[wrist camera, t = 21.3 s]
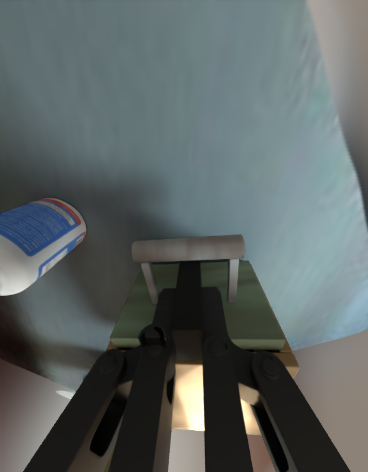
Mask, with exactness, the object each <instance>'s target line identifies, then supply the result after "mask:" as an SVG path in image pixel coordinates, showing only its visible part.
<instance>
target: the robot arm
mask: <svg viewBox="0 0 368 472" xmlns="http://www.w3.org/2000/svg"><path fill="white" fill-rule="evenodd" d="M138 340H139V342H140V344H141V345H139V346H138V347H135V348H133V349H130V350H127V351H124V352H122V351H121V350H119V349H114V348H113V349H110V350H108V351H106V352H105V353H103V354H102V355H101V356H100V358H99V359H98V360H97V361H96V363H95V364H94V366H93V367H92V369H91V370H90V372H89V373H88V375H87V376H86V378H85V379H84V381H83V382H82V384H81V385H80V387H79V388H78V390H77V391H76V393H75V394H74V396H73V397H72V399H71V401H70V402H69V404H68V405H67V406H66V408H65V409H64V411H63V412H62V414H61V415H60V417H59V418H58V420H57V421H56V423H55V424H54V426H53V427H52V429H51V430H50V432H49V434H48V435H47V436H46V438H45V439H44V441H43V442H42V444H41V445H40V447H39V449H38V450H37V451H36V453H35V454H34V456H33V457H32V459H31V461H30V462H29V464H28V465H27V467H26V468H25V470H24V471H23V472H103V471H104V469H105V467H106V464H107V462H108V460H109V457H110V455H111V452H112V450H113V448H114V445H115V448H114V451H113V455H112V459H111V462H110V466H109V470H108V472H168V464H169V452H170V441H171V429H172V417H173V406H174V394H175V383H176V367H175V364H176V357H177V360H202V364H203V401H204V437H205V472H253V467H252V462H251V456H250V450H249V444H248V439H247V433H246V427H245V421H244V416H243V410H242V404H241V400H243V401H245V402H247V403H249V404H250V406H251V409H252V412H253V414H254V417H255V419H256V422H257V425H258V427H259V430H260V432H261V435H262V438H263V440H264V443H265V445H266V448H267V451H268V453H269V456H270V458H271V461H272V464H273V466H274V469H275V471H276V472H350V470H349V468H348V467H347V465H346V464H345V462H344V460H343V459H342V457H341V455H340V454H339V452H338V451H337V449H336V448H335V446H334V444H333V443H332V441H331V439H330V438H329V436H328V434H327V433H326V431H325V430H324V428H323V427H322V425H321V423H320V422H319V420H318V418H317V417H316V415H315V414H314V412H313V410H312V409H311V407H310V405H309V404H308V402H307V401H306V399H305V397H304V396H303V394H302V393H301V391H300V389H299V388H298V386H297V385H296V383H295V381H294V380H293V378H292V376H291V375H290V373H289V372H288V370H287V368H286V367H285V365H284V364H283V363H282V361H281V360H280V359H279V358H278V357H277V356H275V355H274V354H273V353H270V352H268V351H258V352H256V353H252V352H249V351H246V350H244V349H242V348H240V347H238V346H236V345H235V344H234V343H233V342H232V341H231V339H230V337H229V336H228V332H227V327H226V321H225V315H224V309H223V303H222V297H221V292H220V291H219V290H218V288H217V287H202V278H201V262H200V260H193V261H180V263H179V270H178V277H177V284H176V288H164V289H163V290H162V292H161V293H160V294H159V298H158V303H157V306H156V310H155V314H154V318H153V322H152V324H149V325H148V326H146V327H144V328H143V329H142V331H141V332H140V333H139V335H138ZM115 443H116V444H115Z"/></svg>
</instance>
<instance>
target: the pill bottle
mask: <svg viewBox="0 0 368 472" xmlns="http://www.w3.org/2000/svg"><path fill="white" fill-rule="evenodd" d="M85 235H86V225H85V222H84V220H83V218H82V216H81V215H80V213H79V212H78V211H77V210H76V209H75V208H73V207H72V206H71V205H69V204H68V203H66V202H64V201H62V200H59V199H55V198H44V199H40V200H37V201H34V202H31V203H28V204H25V205H22V206H20V207H17V208H14V209H11V210H8V211H5V212H3V213H0V295H12V294H16V293H19V292H21V291H23V290H25V289H26V288H28V287H29V286H30V285H31V284H33V283H34V282H35V281H36V280H37V279H39V278H40V277H41V276H42V275H43V274H45V273H46V272H47V271H48V270H49V269H50V268H52V267H53V266H54V265H55V264H56V263H57V262H59V261H60V260H61V259H62V258H63V257H64V256H66V255H67V254H68V253H69V252H70V251H72V250H73V249H74V248H75V247H76V246H77V245H78V244H80V243H81V242H82V240H83V239H84V237H85Z"/></svg>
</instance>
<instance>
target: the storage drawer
mask: <svg viewBox="0 0 368 472" xmlns="http://www.w3.org/2000/svg"><path fill="white" fill-rule="evenodd" d="M131 253H132V259H133V261H134V262H135V263H141V267H142V268H141V270H140V272H139V274H138V277H137V279H136V281H135V283H134V286H133V288H132V290H131V292H130V294H129V297H128V299H127V301H126V303H125V305H124V308H123V310H122V312H121V314H120V317H119V319H118V321H117V323H116V325H115V328H114V330H113V332H112V334H111V336H110V340H111V341H112V343H113V345H114V347H118V348H132V349H133V348H135V347H138V346H139V345H141V344H140V342H139V340H138V335H139V333H140V332H141V331H142V329H143V328H144V327H146V326H148V325H149V324H152V322H153V318H154V314H155V310H156V306H157V303H158V298H159V294H160V293H161V292H162V290H163V289H164V288H176V284H177V277H178V270H179V264H159V265H152V263H151V262H171V261H193V260H215V259H228V262H205V263H201V278H202V287H217V288H218V290H219V291H220V292H221V297H222V303H223V309H224V315H225V321H226V327H227V332H228V336H229V337H230V339H231V341H232V342H233V343H234V344H235V345H236V346H238V347H240V348H242V349H244V350H246V351H249V352H258V351H264V350H282V349H283V346H284V343H285V340H286V339H285V337H284V335H283V333H282V331H281V329H280V327H279V324H278V322H277V320H276V318H275V316H274V314H273V312H272V309H271V307H270V305H269V303H268V301H267V299H266V297H265V295H264V292H263V290H262V288H261V286H260V284H259V282H258V280H257V277H256V275H255V273H254V271H253V269H252V267H251V265H250V263H249V261H239V258H244V255H245V242H244V238H243V236H242V235H224V236H207V237H191V238H174V239H158V240H142V241H135V242H134V243H133V245H132V250H131Z"/></svg>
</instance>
